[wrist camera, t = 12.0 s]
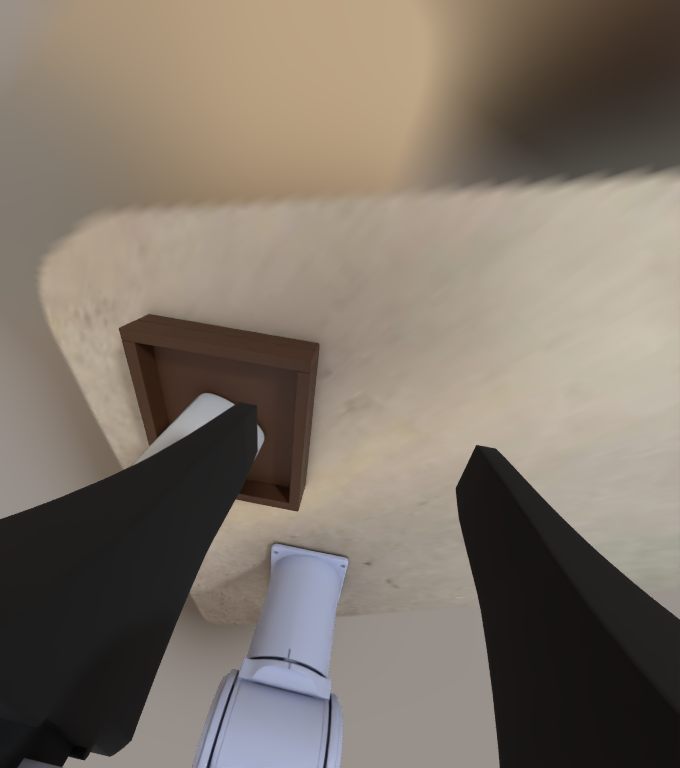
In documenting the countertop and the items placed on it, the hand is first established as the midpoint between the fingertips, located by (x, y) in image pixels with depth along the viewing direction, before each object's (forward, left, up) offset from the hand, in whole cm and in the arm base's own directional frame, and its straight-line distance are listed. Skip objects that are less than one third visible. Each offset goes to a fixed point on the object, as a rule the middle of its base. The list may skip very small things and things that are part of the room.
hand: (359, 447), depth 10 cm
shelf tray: (-8, +9, -10) cm, 16 cm away
